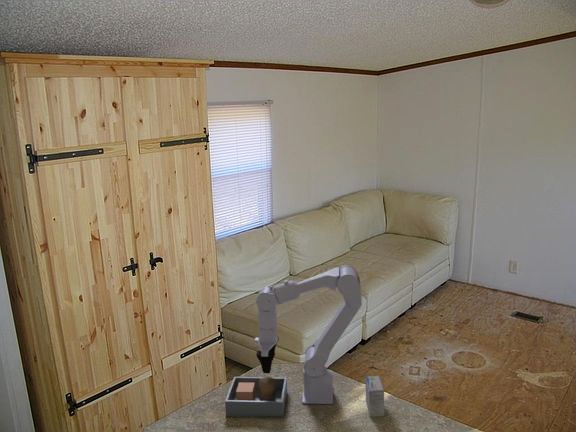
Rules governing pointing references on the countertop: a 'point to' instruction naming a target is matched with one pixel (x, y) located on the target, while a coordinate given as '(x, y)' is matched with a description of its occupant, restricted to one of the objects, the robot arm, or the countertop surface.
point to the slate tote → (256, 400)
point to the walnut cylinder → (267, 389)
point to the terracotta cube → (245, 391)
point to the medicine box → (374, 396)
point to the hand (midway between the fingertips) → (268, 366)
